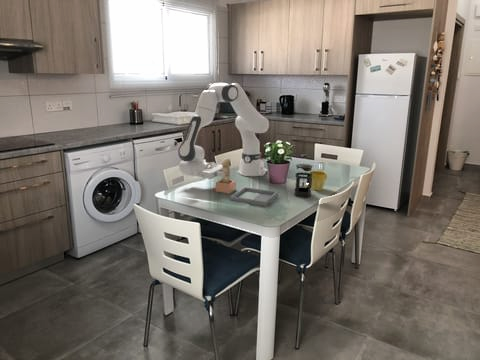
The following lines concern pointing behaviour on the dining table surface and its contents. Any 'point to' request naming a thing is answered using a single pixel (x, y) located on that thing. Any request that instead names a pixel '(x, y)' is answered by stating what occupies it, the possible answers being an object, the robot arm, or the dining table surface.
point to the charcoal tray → (260, 200)
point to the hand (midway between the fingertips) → (227, 173)
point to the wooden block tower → (226, 170)
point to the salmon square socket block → (225, 186)
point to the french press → (300, 189)
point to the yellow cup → (318, 179)
